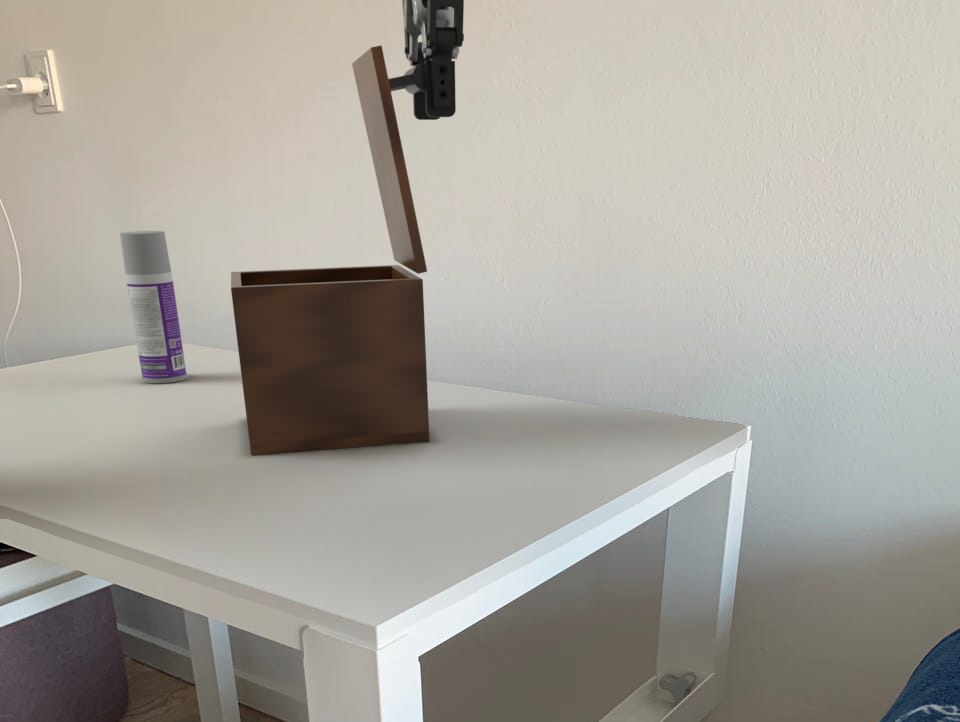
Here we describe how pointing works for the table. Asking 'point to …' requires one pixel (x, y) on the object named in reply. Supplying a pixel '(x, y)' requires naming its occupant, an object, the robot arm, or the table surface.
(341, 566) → the table surface
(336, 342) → the chest
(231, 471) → the table surface
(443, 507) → the table surface
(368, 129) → the lid
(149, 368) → the container
